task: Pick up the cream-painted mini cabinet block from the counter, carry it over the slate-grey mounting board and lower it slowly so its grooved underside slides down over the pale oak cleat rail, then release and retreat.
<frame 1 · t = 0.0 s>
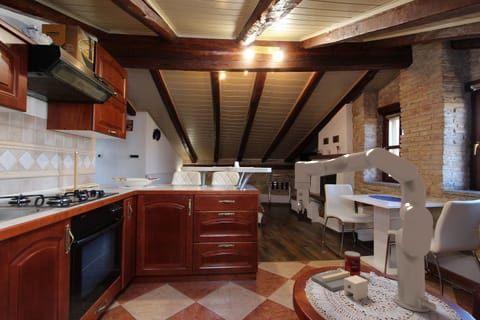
hand: (302, 219, 121), 31 cm above the table, tool pointing down, fingers open, 9 cm apart
mount board: (336, 281, 121), on the table
canned food: (352, 274, 131), on the table
cabinet block: (356, 295, 107), on the table
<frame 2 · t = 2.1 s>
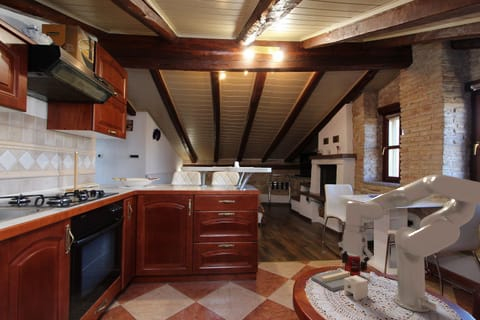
hand: (353, 266, 108), 13 cm above the table, tool pointing down, fingers open, 9 cm apart
nothing on the table moved.
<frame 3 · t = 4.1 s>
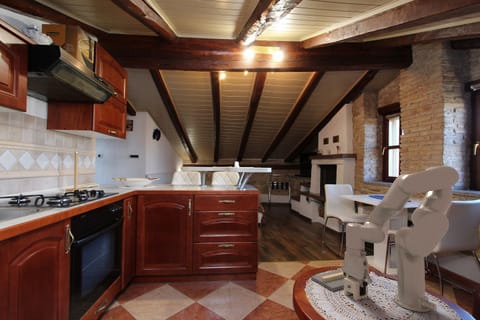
hand: (355, 291, 107), 2 cm above the table, tool pointing down, fingers closed on cabinet block, 6 cm apart
cabinet block: (356, 295, 107), on the table, touching gripper
everything else where it was.
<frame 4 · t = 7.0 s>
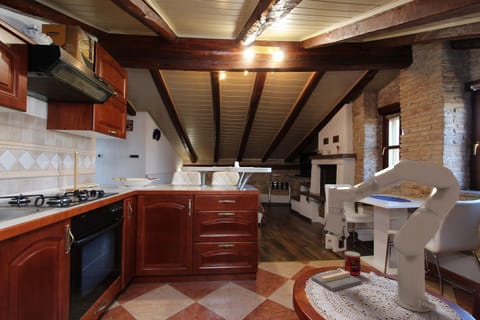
hand: (335, 245, 122), 18 cm above the table, tool pointing down, fingers closed on cabinet block, 6 cm apart
cabinet block: (335, 249, 122), point 16 cm above the table, touching gripper
everything else where it was.
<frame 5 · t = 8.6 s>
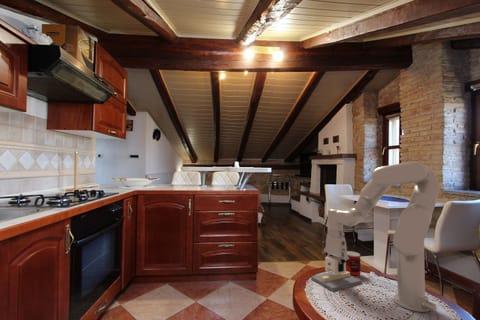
hand: (335, 268, 122), 6 cm above the table, tool pointing down, fingers closed on cabinet block, 6 cm apart
cabinet block: (335, 271, 121), point 5 cm above the table, touching gripper
everything else where it was.
when the fingers open (4 cm above the table, at t = 9.9 s): cabinet block stays where it is, resting on mount board.
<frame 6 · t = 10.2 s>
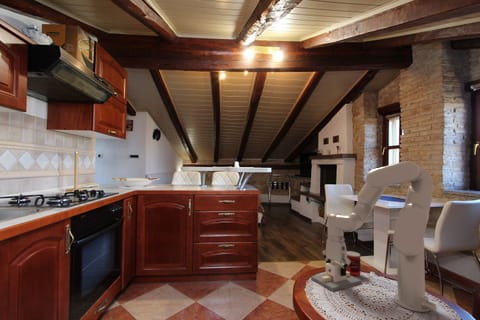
hand: (335, 272, 121), 5 cm above the table, tool pointing down, fingers open, 9 cm apart
cabinet block: (336, 278, 121), point 1 cm above the table, touching mount board
everything else where it was.
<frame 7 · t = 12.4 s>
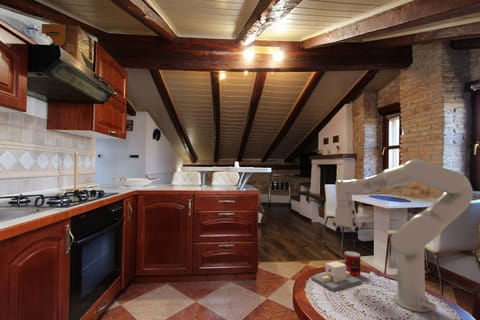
hand: (346, 237, 121), 22 cm above the table, tool pointing down, fingers open, 9 cm apart
nothing on the table moved.
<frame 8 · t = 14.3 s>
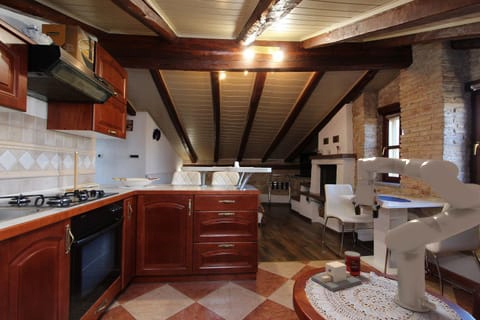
hand: (366, 216, 120), 33 cm above the table, tool pointing down, fingers open, 9 cm apart
nothing on the table moved.
at the end: cabinet block 0.1 cm off-centre on the mount board, point 1.5 cm above the mount board's base; cabinet block tilted 0°; the gripper is holding nothing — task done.
